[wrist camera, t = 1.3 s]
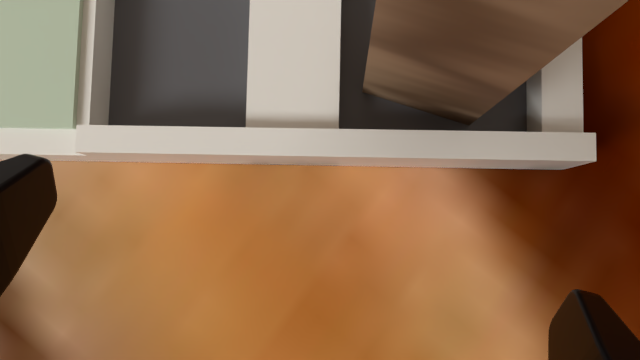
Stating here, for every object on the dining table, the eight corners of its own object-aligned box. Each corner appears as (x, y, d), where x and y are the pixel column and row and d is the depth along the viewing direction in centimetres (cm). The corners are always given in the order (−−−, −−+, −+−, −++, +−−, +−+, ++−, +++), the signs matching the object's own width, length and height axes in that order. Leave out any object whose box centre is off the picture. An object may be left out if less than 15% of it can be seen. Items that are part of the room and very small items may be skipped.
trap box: (559, -47, 23) (592, -87, 20) (562, 169, 22) (596, 161, 19) (-61, -48, 24) (-118, -87, 21) (-78, 158, 23) (-139, 148, 20)
